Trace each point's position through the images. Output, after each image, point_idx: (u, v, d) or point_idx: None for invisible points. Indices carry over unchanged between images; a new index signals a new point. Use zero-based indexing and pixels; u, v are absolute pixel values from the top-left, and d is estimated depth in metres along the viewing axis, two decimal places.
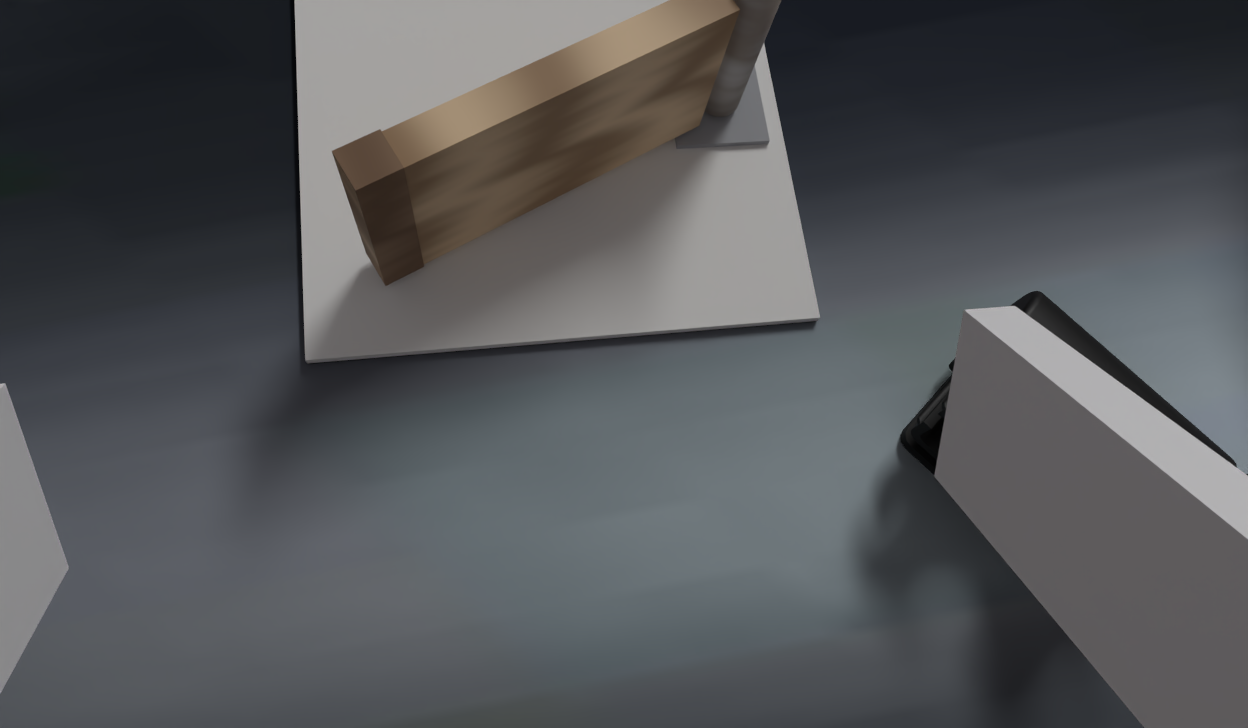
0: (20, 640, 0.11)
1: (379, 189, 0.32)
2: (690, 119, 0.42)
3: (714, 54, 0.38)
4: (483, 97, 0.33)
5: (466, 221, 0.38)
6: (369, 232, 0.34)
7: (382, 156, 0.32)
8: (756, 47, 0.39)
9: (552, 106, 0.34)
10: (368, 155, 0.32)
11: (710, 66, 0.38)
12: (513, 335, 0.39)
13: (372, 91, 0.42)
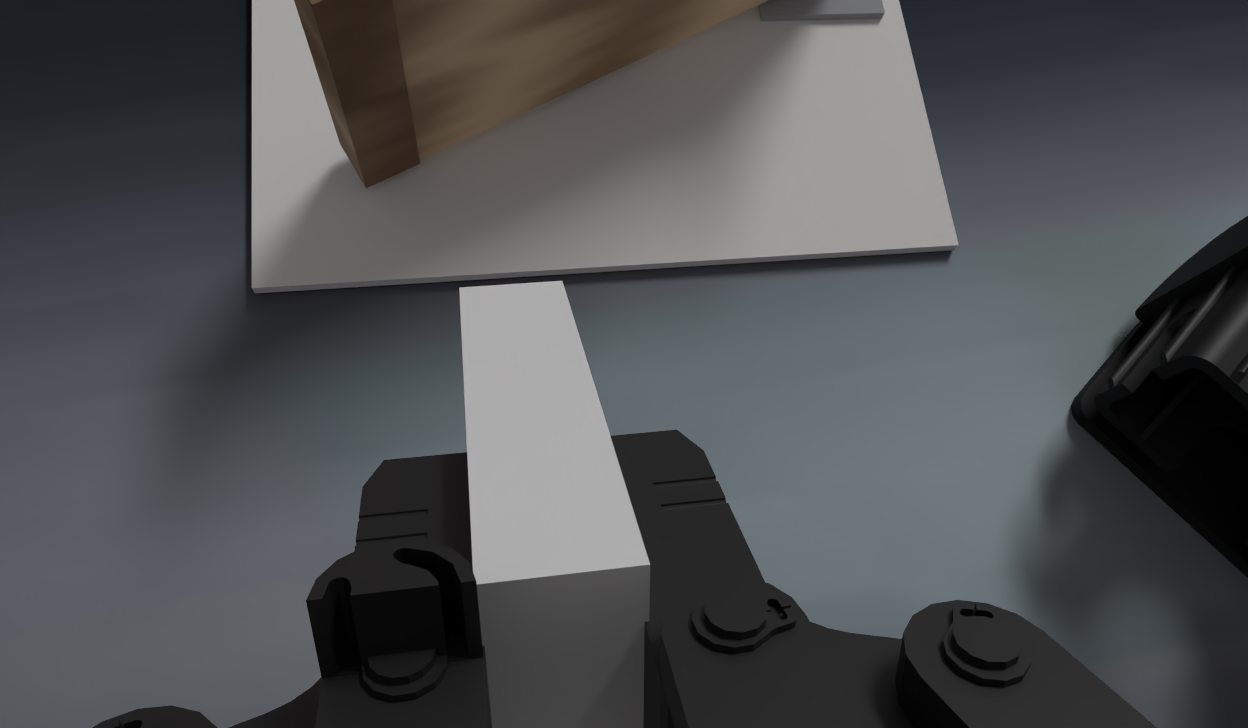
0: None
1: (350, 9, 0.21)
2: None
3: None
4: None
5: (480, 96, 0.27)
6: (338, 90, 0.23)
7: None
8: None
9: None
10: None
11: None
12: (542, 259, 0.28)
13: None
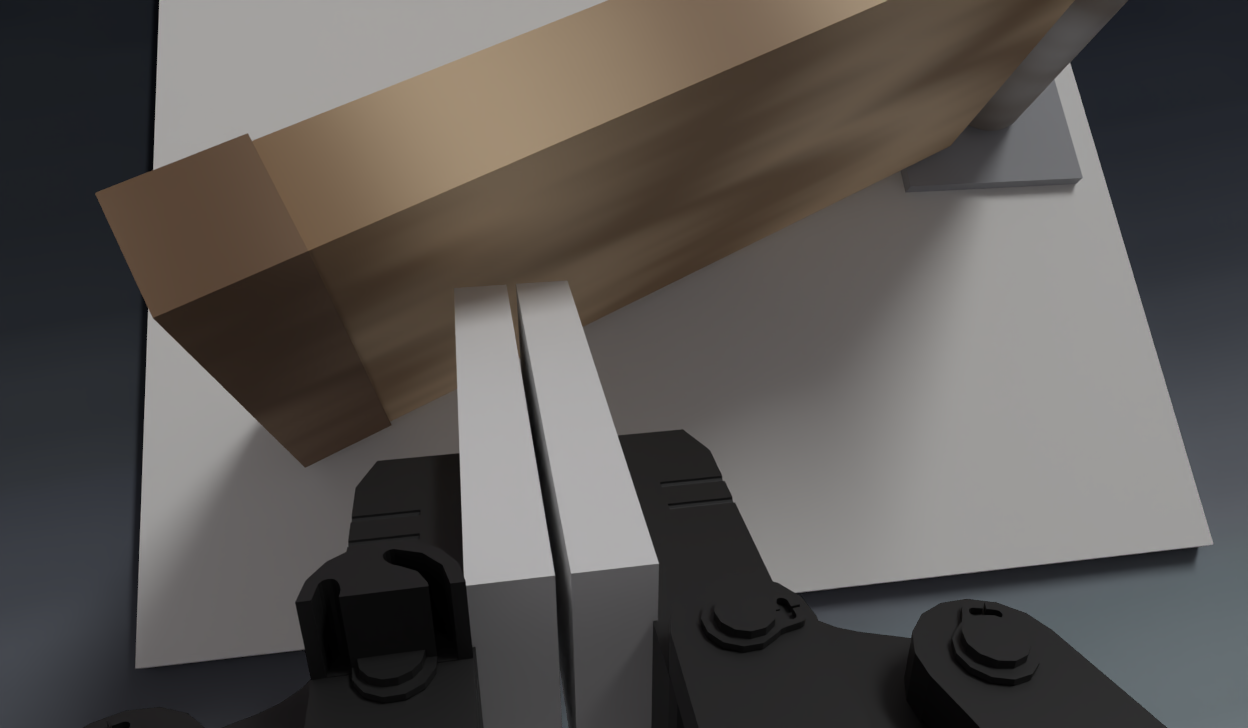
0: None
1: (237, 306, 0.11)
2: (945, 134, 0.21)
3: None
4: (547, 57, 0.12)
5: None
6: (235, 395, 0.13)
7: (247, 214, 0.11)
8: None
9: (725, 90, 0.13)
10: (205, 210, 0.11)
11: (1043, 20, 0.17)
12: None
13: (309, 72, 0.21)
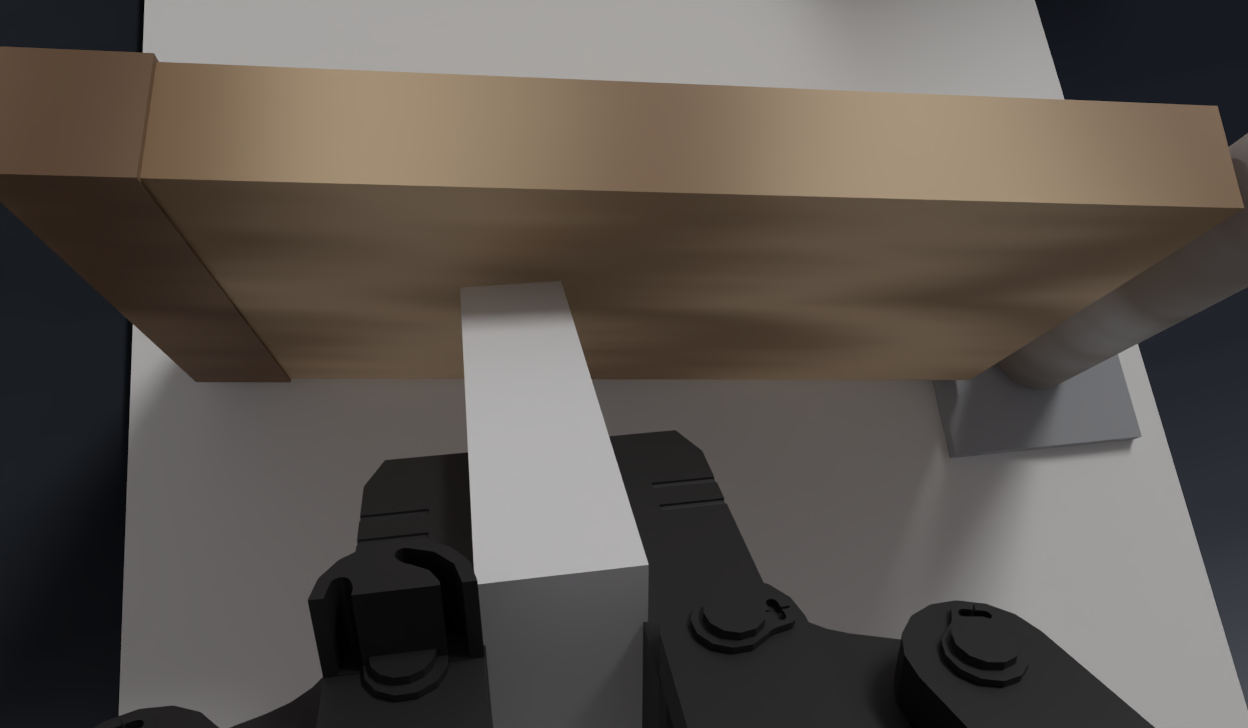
0: None
1: (66, 199, 0.11)
2: (958, 364, 0.19)
3: (1099, 276, 0.15)
4: (466, 105, 0.12)
5: (390, 348, 0.17)
6: (90, 282, 0.14)
7: (106, 122, 0.11)
8: (1198, 304, 0.16)
9: (634, 212, 0.12)
10: (73, 102, 0.11)
11: (1070, 295, 0.16)
12: None
13: None
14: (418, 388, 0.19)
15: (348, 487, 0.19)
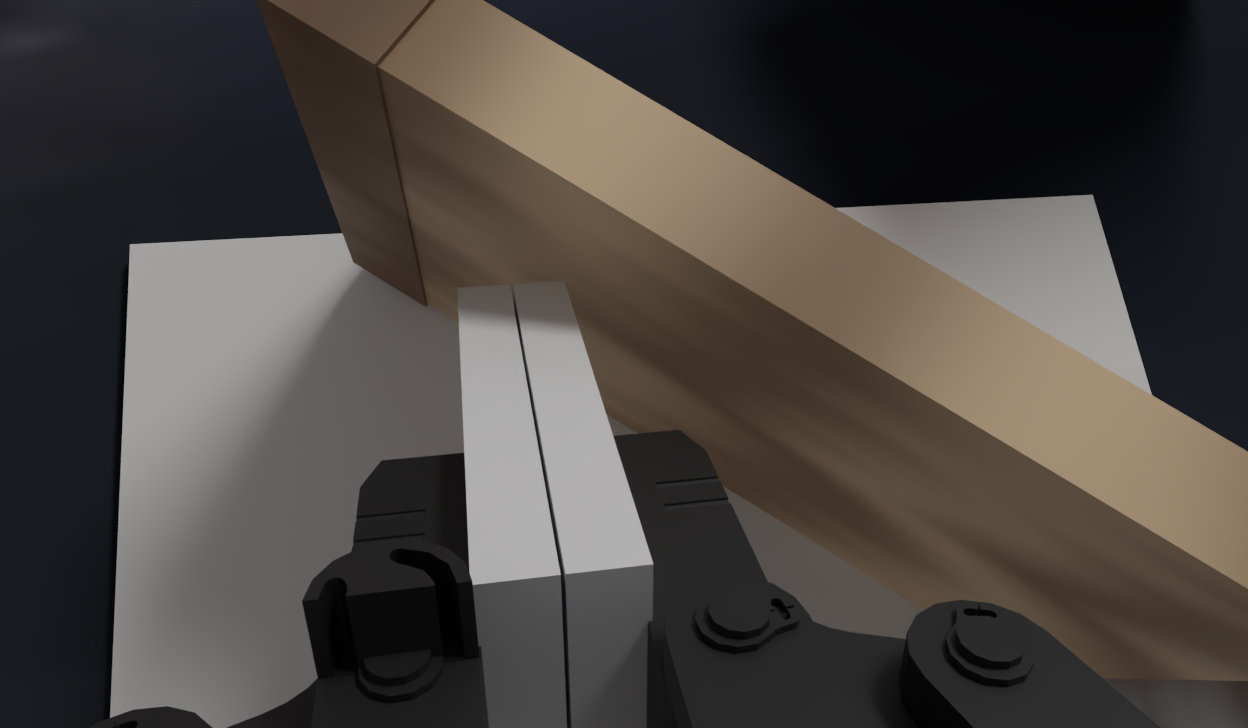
0: None
1: (315, 53, 0.12)
2: None
3: (1213, 658, 0.13)
4: (680, 152, 0.12)
5: None
6: (307, 132, 0.15)
7: (380, 8, 0.12)
8: None
9: (775, 327, 0.12)
10: None
11: (1174, 658, 0.14)
12: None
13: None
14: None
15: None
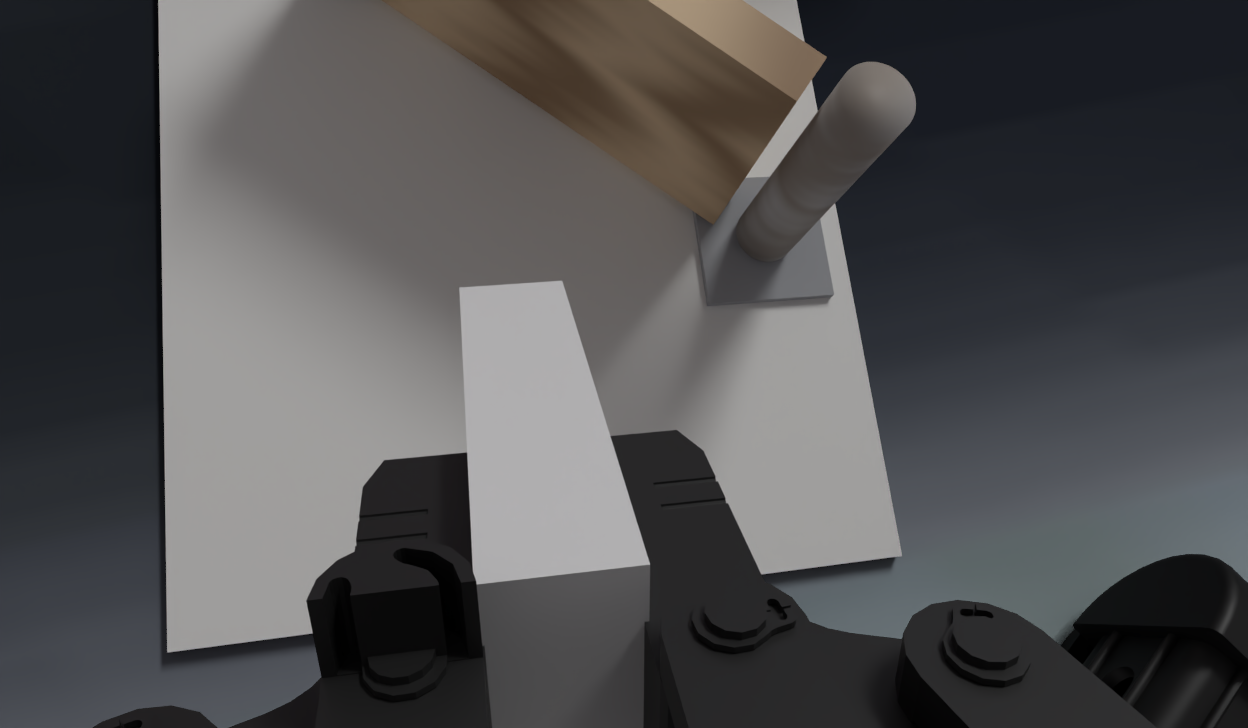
0: None
1: None
2: (702, 198, 0.30)
3: (749, 133, 0.26)
4: None
5: None
6: None
7: None
8: (802, 192, 0.26)
9: None
10: None
11: (741, 147, 0.26)
12: None
13: (274, 221, 0.29)
14: (354, 253, 0.29)
15: (308, 314, 0.29)
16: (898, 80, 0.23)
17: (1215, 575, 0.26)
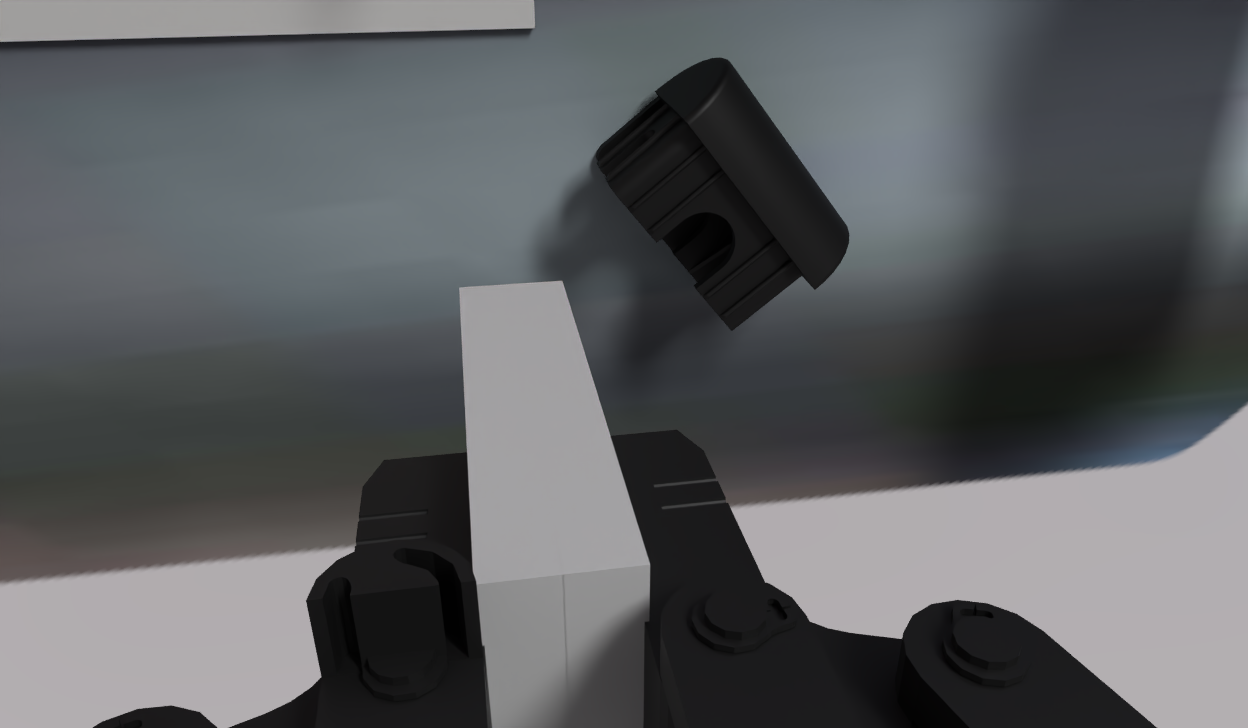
0: None
1: None
2: None
3: None
4: None
5: None
6: None
7: None
8: None
9: None
10: None
11: None
12: (204, 27, 0.38)
13: None
14: None
15: None
16: None
17: (715, 81, 0.38)
